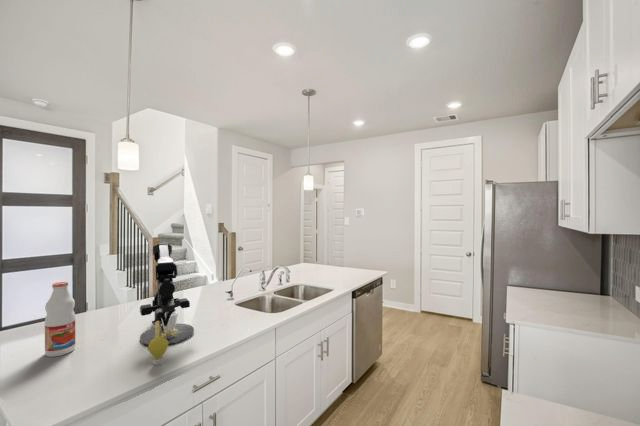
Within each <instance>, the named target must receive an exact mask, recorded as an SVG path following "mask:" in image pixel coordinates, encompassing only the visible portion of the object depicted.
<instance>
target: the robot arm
mask: <svg viewBox="0 0 640 426" xmlns="http://www.w3.org/2000/svg"><path fill="white" fill-rule="evenodd" d="M172 254H173V246H172V244H170V243H168V242H158V243H156V245H153V246H152V256H153V259H154V261H155V263H156V264H155V268H154V269H155V280H156V281H157V283H156V285H157V290H156V292H155V294H154V295H153V299H152V301H151V303H149V304H143V305H140V307H139V313H140V316H149V315H151V314H152V313H154V320H151V323H154V324H155V322H156V321H161V325H162V321H163V323H164V326H167V324H168V321H169V318H170V316H171V314H172V313H173V312H177V310H176V308H178V307H180V308H181V309H187V308H190V307H191V305H190V304H191V302H190V300H188V298H186V297H184V298H180V297H176V298H174V293H175V289H176V286H175V284H174V279H176V278H177V276H178V266H177V264H176V263H175V262H174V259H173V258H171V255H172ZM165 313H166V315H165ZM161 318H162V319H161Z"/></svg>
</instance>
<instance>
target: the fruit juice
mask: <svg viewBox="0 0 640 426" xmlns="http://www.w3.org/2000/svg"><path fill="white" fill-rule="evenodd" d="M51 286H52V289H53V290H52V293H51V295H50V297H49V299H48V300H47V302H46V303H45V306H44V307H45V312H46V316H45V319H44V355H45V356H46V357H48V358H49V357H50V358H51V357H52V358H55V357H59V356H64V355H67V354H69V353H71V352H73V351H74V350H75V349H76V312H75V311H74V308H75V307H76V306H75V305H76V302H75V299H74V298H73V297H72V295H71V293H70V291H69V288H68V287H69V282H68V281H60V282H55V283H52V285H51Z"/></svg>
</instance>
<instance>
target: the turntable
mask: <svg viewBox="0 0 640 426" xmlns="http://www.w3.org/2000/svg"><path fill="white" fill-rule="evenodd" d="M174 329H175V330H174V331H173V332H171V333H165V332H164V331H165V330H164V328H163V325H162V324H161V321H156V322H155V323H154V327H152V328H149V329H147V330H146V331H144V332H143V333H142V334H140V336H139V341H140V343H141V344H142V345H146V346H149V343H150V342H151V340H152V339H154V338H156V337H160V336H161V337H164V338H166V339H167V341H168V345H173V344H176V343H181V342H182V341H185V340H187V339H189V338H190V337H192V336H193V334H194V333H195V328H194V327H193V326H192V325H190V324H189V323H188V324H187V323H176V325H175V328H174Z"/></svg>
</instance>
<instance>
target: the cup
mask: <svg viewBox="0 0 640 426" xmlns="http://www.w3.org/2000/svg"><path fill="white" fill-rule="evenodd" d="M165 315H166V313H165ZM161 319H162V318H161ZM177 320H178V312H177V311H175V312H173V313H172V314H171V316H170V318H169V321H168V324H167V326H164V323H163V321H162V324H161V326H162V325H163V328H164V330H165V331H164V332H165V333H171V332H173V331H174V330H175V329H174V328H175V325H176V324H177Z"/></svg>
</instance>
